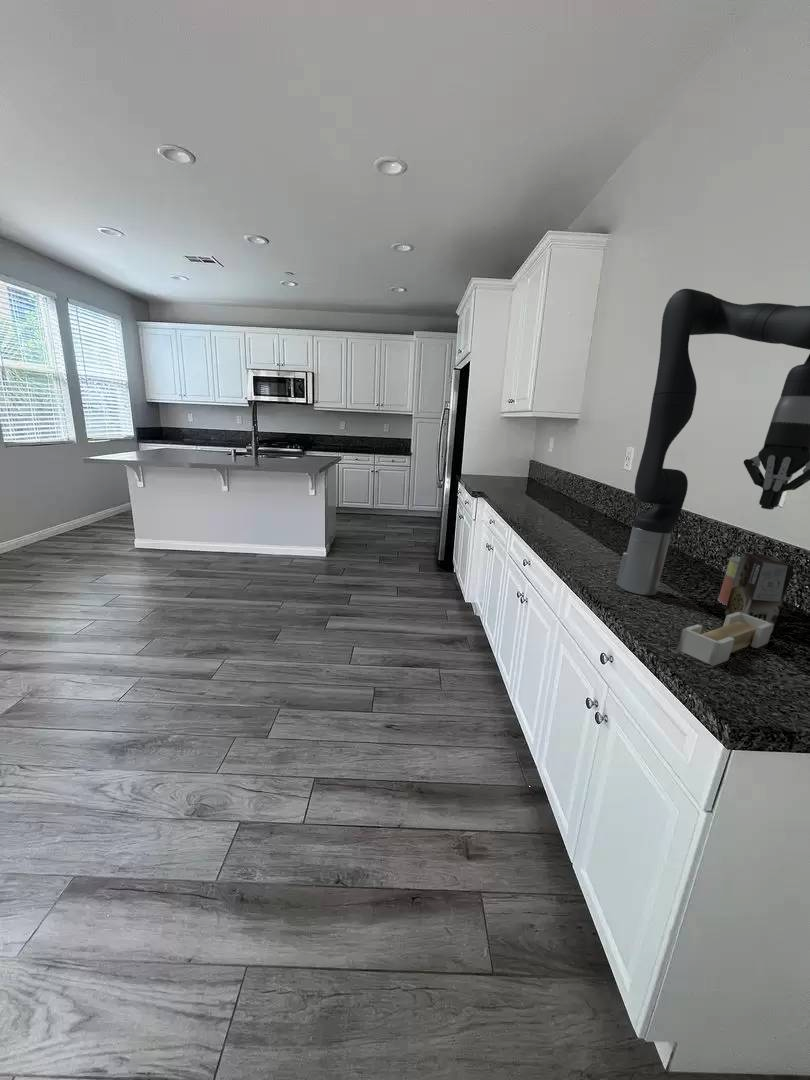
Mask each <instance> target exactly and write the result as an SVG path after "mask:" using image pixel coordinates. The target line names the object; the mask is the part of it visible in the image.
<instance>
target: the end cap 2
mask: <svg viewBox="0 0 810 1080" xmlns="http://www.w3.org/2000/svg"><path fill="white" fill-rule="evenodd" d="M738 621H740V622H742V623H745V624H748V625H751V626H753V627H756V628H757V629H756V632H755V635H754V638H753V641H752V644H751V645H750V647H752V648H755V649H758V648H760V647H763V646H765V645H768V643H769V641H770V638H771V636H772V635H771V634H772V633H773V632H772V629H773V626H774V624H772V623H769V622H767V621H764V620H761V619H758V618H755V617H752V616H749V615H746V614H744V613H741V612H736V613H733V614H730V615H726V614H725V619H724V623H723V626H722V627H724V626H726V625H729V624H732V623H735V622H738ZM774 627H775V626H774ZM773 630H774V629H773ZM771 632H772V633H771Z"/></svg>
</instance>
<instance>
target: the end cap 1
mask: <svg viewBox="0 0 810 1080" xmlns="http://www.w3.org/2000/svg"><path fill="white" fill-rule="evenodd" d="M702 629H703V625H701V624H699V623H696V624H695V625H691V626H687V627H685V628H682V631H681V633H680V638H679V641H678V644H677V648H676V650H677V651H680V652H681V653H684V654H686V655H688V656H691V657H693V658H694V659H697V660H698V661H701V662H703V663H706V664H708V665H710V666H712V667H716V666H717V665H720V664H722V663H724V662H726V661H729V659H730V656H731V653H730V652H731V649H732V646H733V643H734V640H735V639H734V638H731V637H727V638H724V639H722V640H719V641H715V640H713V639H711V638H708V637H706V636H703V635H701V634H702Z"/></svg>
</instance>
